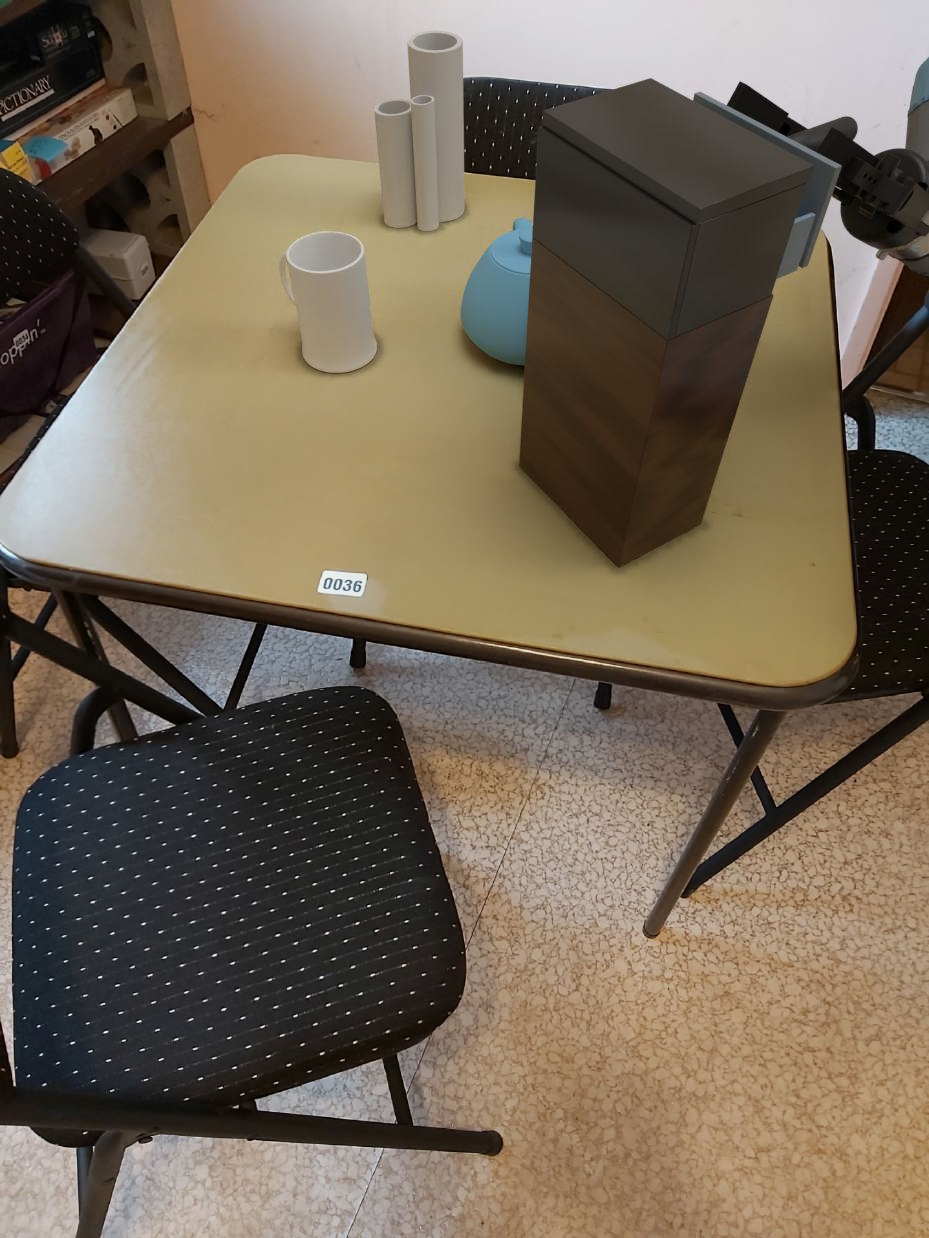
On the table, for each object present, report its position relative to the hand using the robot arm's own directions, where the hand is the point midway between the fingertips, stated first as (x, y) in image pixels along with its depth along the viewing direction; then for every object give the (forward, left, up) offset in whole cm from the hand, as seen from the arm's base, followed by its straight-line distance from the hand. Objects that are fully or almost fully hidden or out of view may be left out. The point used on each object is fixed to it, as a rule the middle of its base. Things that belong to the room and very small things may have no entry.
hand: (776, 125), depth 60 cm
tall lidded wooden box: (-4, +9, -31) cm, 33 cm away
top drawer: (0, +1, -7) cm, 7 cm away
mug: (+24, +35, -32) cm, 53 cm away
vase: (+51, +21, -32) cm, 63 cm away
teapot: (+22, +10, -32) cm, 40 cm away
